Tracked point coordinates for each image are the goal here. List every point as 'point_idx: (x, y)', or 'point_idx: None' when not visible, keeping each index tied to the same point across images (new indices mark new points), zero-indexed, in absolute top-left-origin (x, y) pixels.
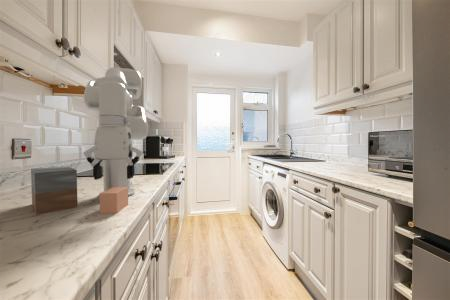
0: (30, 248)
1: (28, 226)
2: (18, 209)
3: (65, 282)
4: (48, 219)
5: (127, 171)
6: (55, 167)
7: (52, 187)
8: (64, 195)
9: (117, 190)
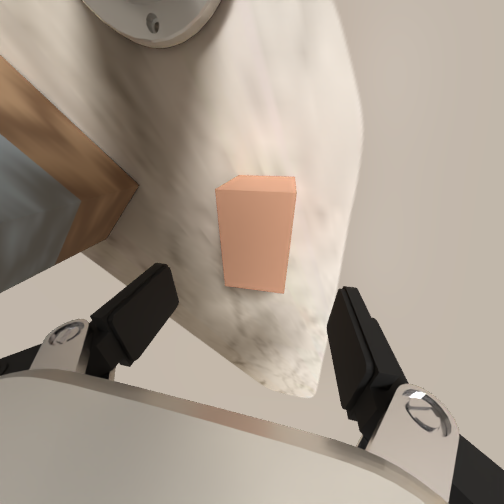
0: (228, 346)
1: None
2: None
3: (302, 391)
4: None
5: (338, 369)
6: None
7: (47, 251)
8: (90, 218)
9: (268, 254)
